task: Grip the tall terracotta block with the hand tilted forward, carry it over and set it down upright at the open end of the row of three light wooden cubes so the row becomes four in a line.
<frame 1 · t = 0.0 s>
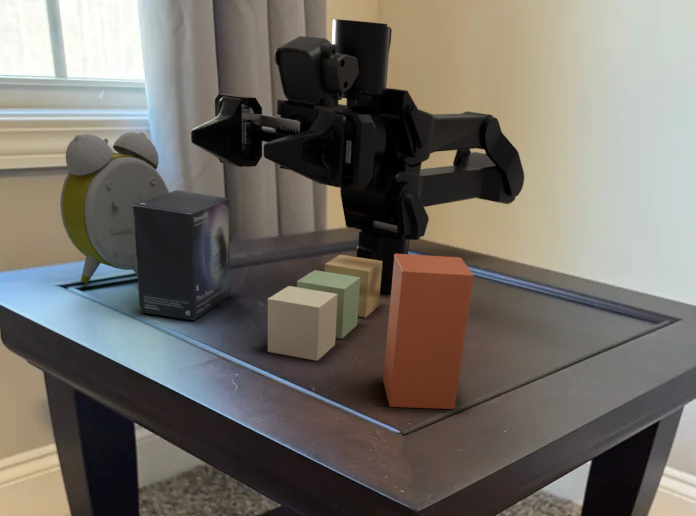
hand: (227, 143, 69), 17 cm above the table, tool horizontal, fingers open, 9 cm apart
cube a: (351, 308, 86), on the table
tall block: (417, 395, 66), on the table
alarm clock: (129, 282, 88), on the table
cube c: (302, 348, 74), on the table
small box: (188, 306, 83), on the table
cube b: (326, 328, 80), on the table
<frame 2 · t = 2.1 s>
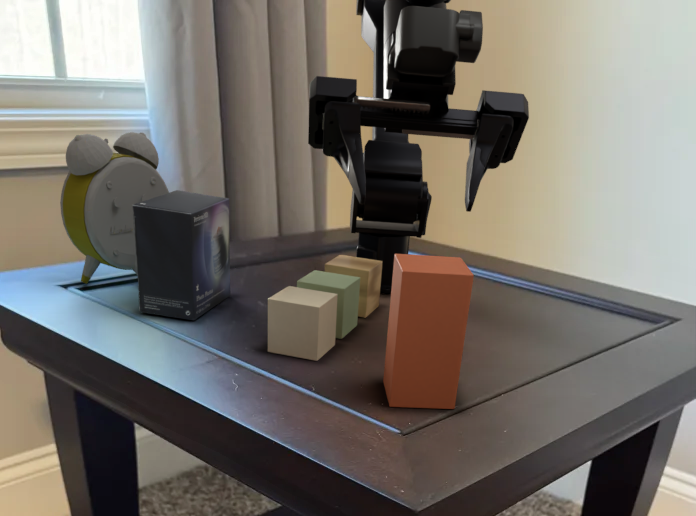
hand: (416, 204, 65), 14 cm above the table, tool tilted 45°, fingers open, 9 cm apart
nothing on the table moved.
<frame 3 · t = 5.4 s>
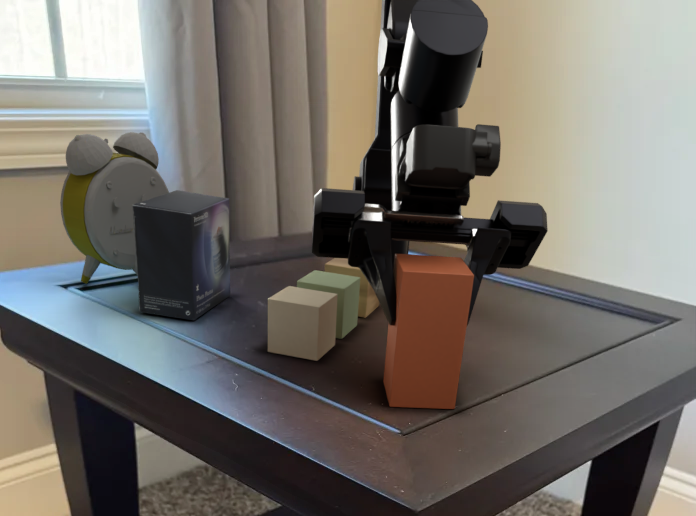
hand: (428, 324, 61), 7 cm above the table, tool tilted 45°, fingers closed on tall block, 5 cm apart
tall block: (417, 395, 66), on the table, touching gripper
everything else where it was.
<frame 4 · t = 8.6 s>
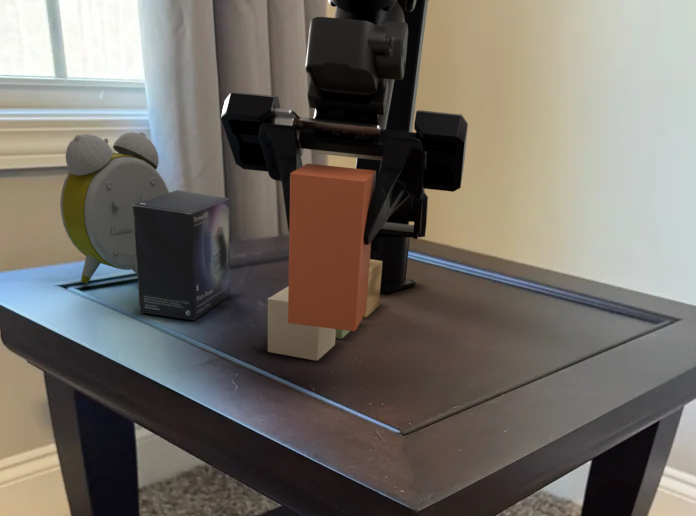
hand: (327, 237, 59), 12 cm above the table, tool tilted 45°, fingers closed on tall block, 5 cm apart
tall block: (328, 317, 64), point 6 cm above the table, touching gripper
everything else where it was.
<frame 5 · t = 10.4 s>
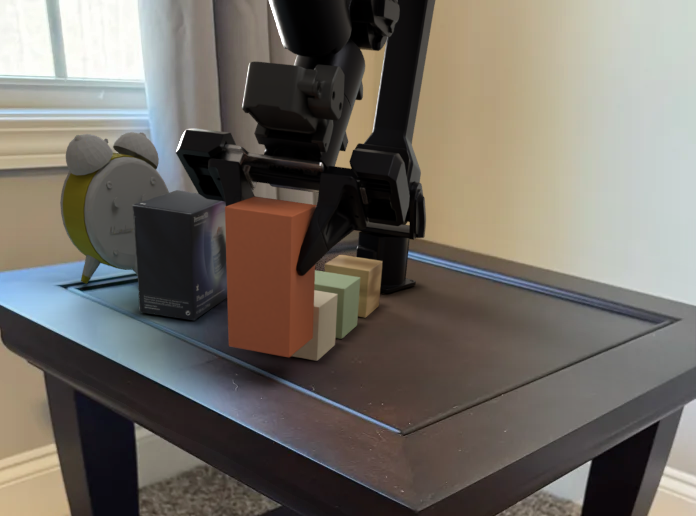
hand: (264, 267, 62), 9 cm above the table, tool tilted 45°, fingers closed on tall block, 5 cm apart
tall block: (271, 342, 66), point 3 cm above the table, touching gripper
everything else where it was.
when the fingers open (7 cm above the table, at t = 11.7 s): tall block stays where it is, on the table.
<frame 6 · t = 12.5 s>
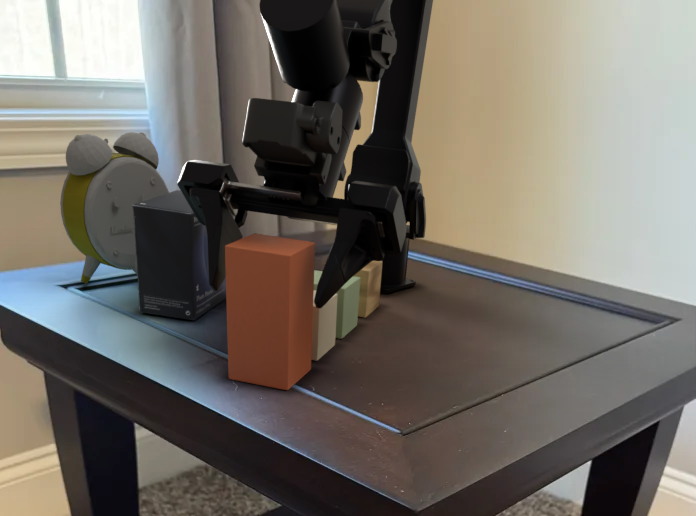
hand: (264, 296, 63), 7 cm above the table, tool tilted 45°, fingers open, 9 cm apart
tall block: (270, 374, 68), on the table
everything else where it was.
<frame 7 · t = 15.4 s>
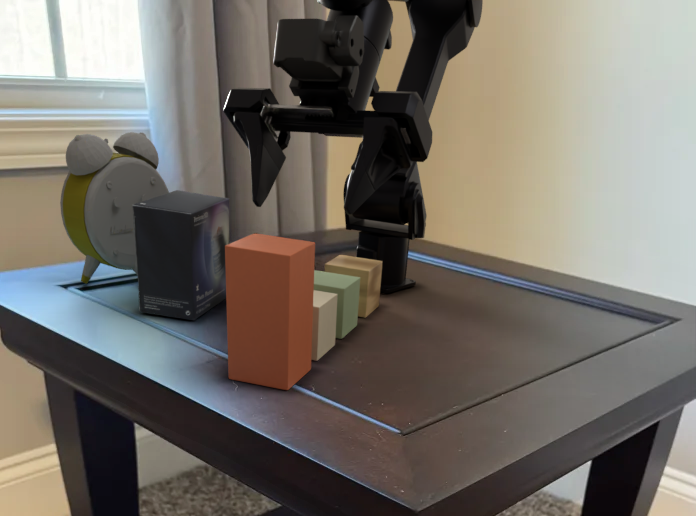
hand: (300, 207, 69), 12 cm above the table, tool tilted 40°, fingers open, 9 cm apart
nothing on the table moved.
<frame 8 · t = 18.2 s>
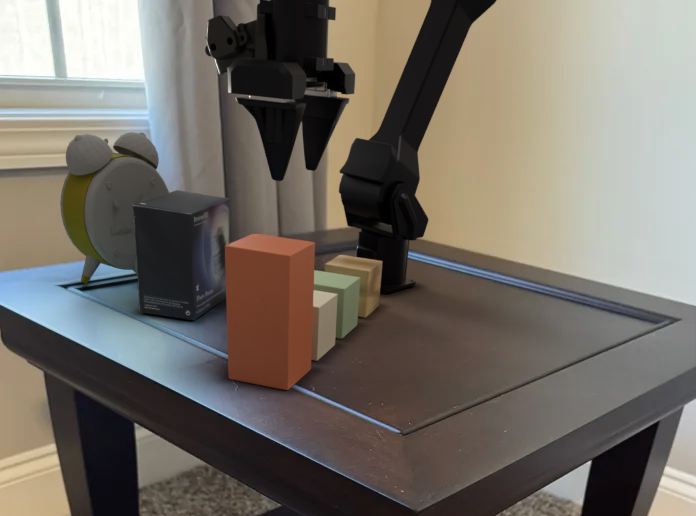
hand: (295, 175, 80), 13 cm above the table, tool pointing down, fingers open, 9 cm apart
nothing on the table moved.
at the end: tall block 0.1 cm from the target spot on the table beside the cube a, on the table; tall block tilted 0°; cube c moved 0.0 cm from its start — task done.
